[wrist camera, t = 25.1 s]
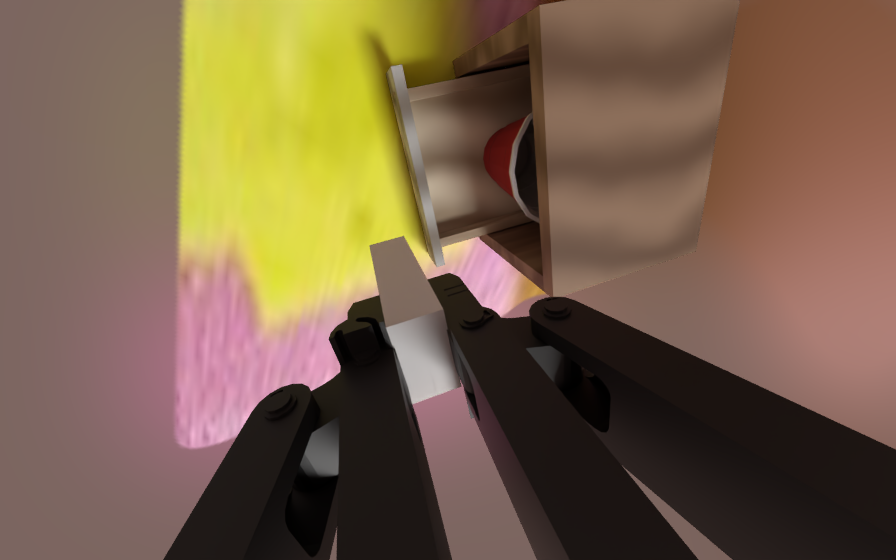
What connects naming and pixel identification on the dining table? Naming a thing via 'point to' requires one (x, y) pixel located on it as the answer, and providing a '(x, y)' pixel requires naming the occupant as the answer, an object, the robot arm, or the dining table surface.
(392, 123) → the dining table surface
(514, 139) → the plastic cup
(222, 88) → the dining table surface
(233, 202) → the dining table surface
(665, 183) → the block
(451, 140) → the tray
